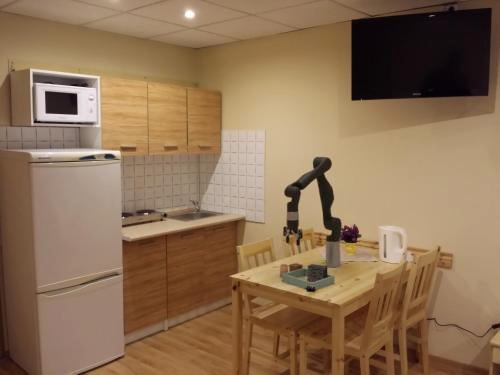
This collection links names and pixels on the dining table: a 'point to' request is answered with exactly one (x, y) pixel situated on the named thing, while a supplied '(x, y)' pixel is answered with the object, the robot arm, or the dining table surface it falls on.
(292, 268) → the block
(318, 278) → the small box
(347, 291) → the dining table surface
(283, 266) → the jar
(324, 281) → the teal shallow rectangular tray
